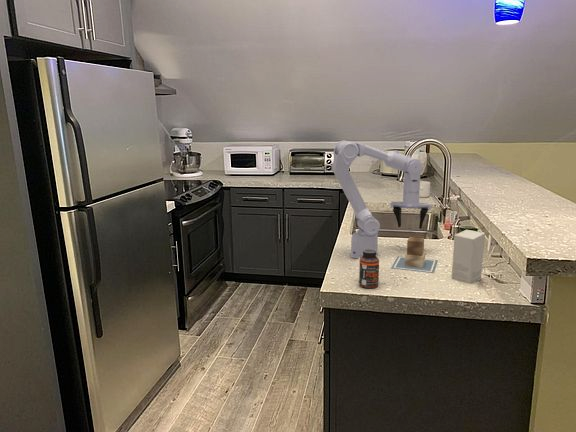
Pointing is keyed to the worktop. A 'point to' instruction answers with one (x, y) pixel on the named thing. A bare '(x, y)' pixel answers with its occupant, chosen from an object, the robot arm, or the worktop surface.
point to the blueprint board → (428, 267)
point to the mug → (424, 189)
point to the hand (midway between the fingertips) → (410, 227)
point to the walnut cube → (415, 246)
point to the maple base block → (415, 260)
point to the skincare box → (468, 256)
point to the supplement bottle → (369, 269)
